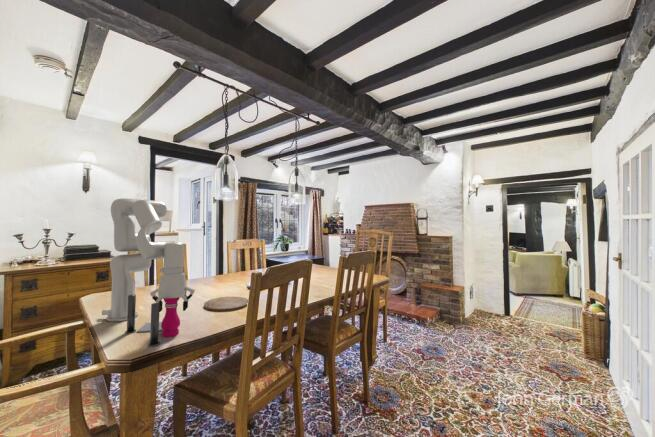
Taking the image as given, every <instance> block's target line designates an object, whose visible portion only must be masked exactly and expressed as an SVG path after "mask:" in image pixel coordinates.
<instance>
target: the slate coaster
mask: <svg viewBox="0 0 655 437" xmlns="http://www.w3.org/2000/svg"><path fill="white" fill-rule="evenodd" d="M161 323H162V321H159V332H162V331H163V329H162V328H161ZM150 329H151V322H146V323H145V324H144V325H142V326H141V327H140V328H139V329H138V330H136V333H150Z"/></svg>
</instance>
